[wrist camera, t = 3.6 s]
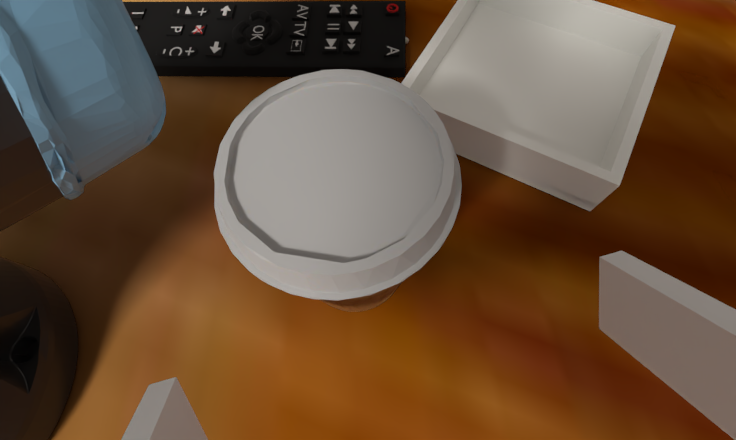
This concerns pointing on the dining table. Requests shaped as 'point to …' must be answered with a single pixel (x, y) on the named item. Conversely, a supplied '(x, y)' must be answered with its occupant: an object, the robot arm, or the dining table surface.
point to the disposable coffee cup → (337, 186)
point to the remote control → (272, 37)
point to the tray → (544, 89)
